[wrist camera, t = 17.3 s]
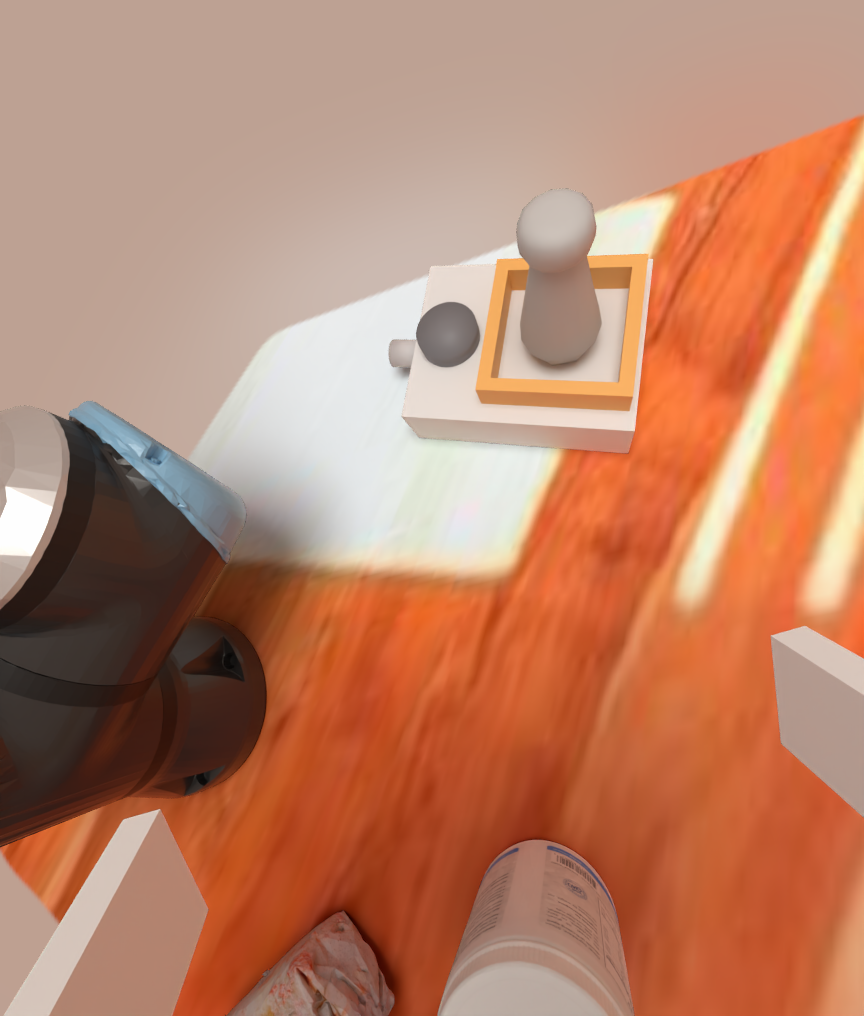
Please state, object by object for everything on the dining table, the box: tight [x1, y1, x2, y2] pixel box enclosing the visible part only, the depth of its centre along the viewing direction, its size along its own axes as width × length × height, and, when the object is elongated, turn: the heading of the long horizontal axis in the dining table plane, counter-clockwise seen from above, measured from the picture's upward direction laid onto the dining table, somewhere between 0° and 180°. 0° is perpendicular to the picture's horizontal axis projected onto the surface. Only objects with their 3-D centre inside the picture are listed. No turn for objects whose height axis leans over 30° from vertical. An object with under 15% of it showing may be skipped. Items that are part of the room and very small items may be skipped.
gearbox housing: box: [389, 254, 653, 453], centre depth 42 cm, size 21×14×8 cm, turn 80°
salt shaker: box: [516, 188, 602, 366], centre depth 33 cm, size 6×6×13 cm
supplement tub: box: [437, 840, 635, 1016], centre depth 28 cm, size 10×10×15 cm
